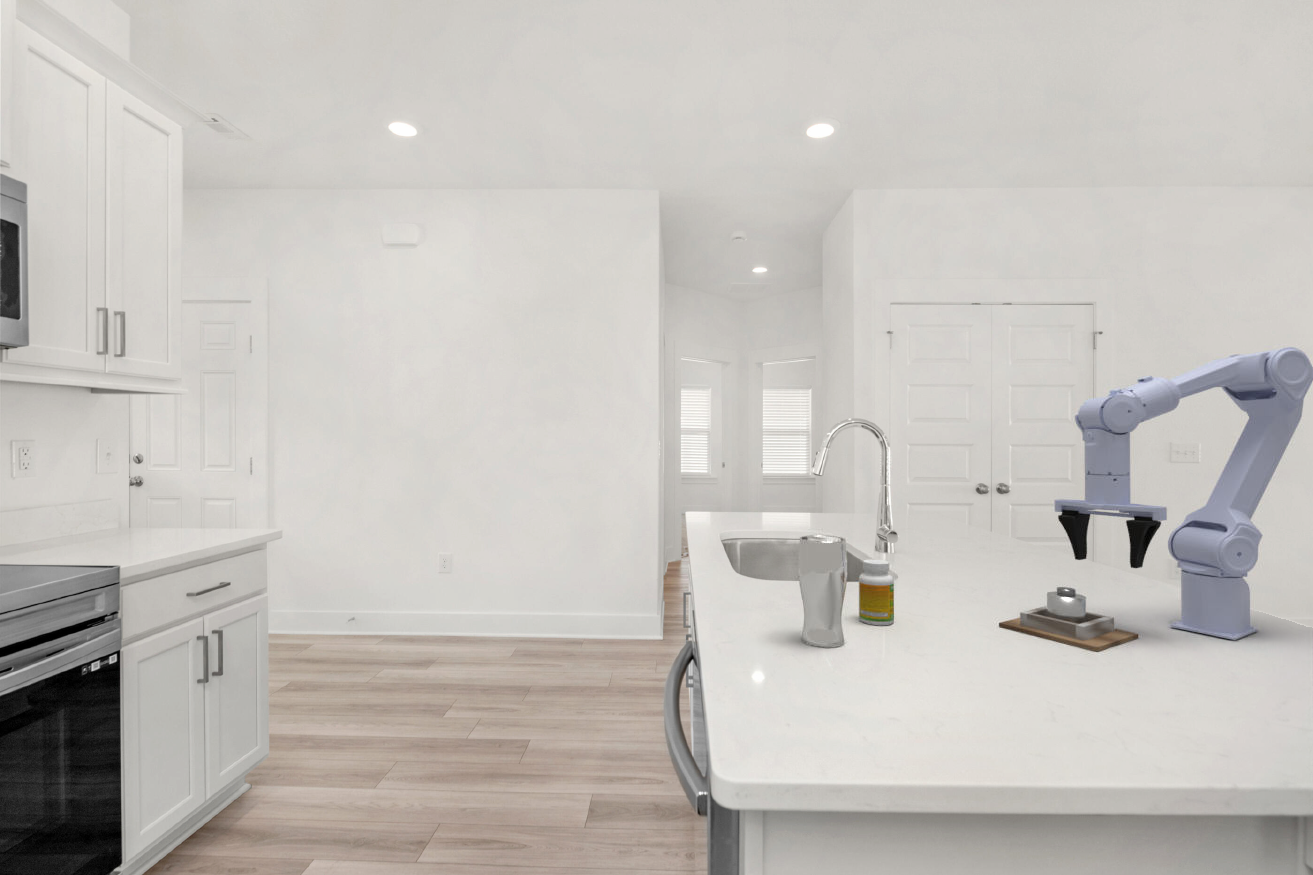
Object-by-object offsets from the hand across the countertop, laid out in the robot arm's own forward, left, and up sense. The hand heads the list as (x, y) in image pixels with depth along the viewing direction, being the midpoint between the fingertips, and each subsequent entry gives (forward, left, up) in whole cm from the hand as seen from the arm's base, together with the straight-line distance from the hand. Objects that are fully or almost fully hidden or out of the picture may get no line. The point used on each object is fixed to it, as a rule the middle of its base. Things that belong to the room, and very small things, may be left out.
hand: (1107, 563), depth 98 cm
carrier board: (+6, -3, -10) cm, 12 cm away
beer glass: (+41, -19, -11) cm, 46 cm away
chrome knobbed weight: (+6, -3, -10) cm, 12 cm away
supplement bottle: (+26, -22, -11) cm, 36 cm away
